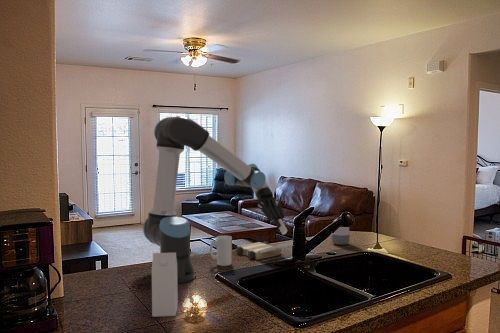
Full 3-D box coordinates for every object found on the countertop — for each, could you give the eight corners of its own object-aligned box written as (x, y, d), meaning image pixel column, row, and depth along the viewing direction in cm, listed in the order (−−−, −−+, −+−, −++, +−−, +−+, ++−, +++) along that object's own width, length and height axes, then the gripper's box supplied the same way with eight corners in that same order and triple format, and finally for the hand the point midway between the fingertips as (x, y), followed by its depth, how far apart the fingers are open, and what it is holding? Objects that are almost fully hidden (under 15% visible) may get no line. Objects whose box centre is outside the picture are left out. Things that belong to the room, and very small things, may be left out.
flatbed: (234, 252, 199) (234, 245, 199) (262, 247, 209) (262, 240, 209) (254, 260, 186) (254, 252, 186) (282, 254, 197) (282, 246, 196)
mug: (229, 261, 185) (228, 234, 184) (234, 265, 179) (233, 238, 178) (207, 263, 181) (207, 236, 181) (211, 267, 175) (211, 240, 174)
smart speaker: (328, 242, 220) (328, 216, 219) (344, 241, 222) (344, 216, 221) (336, 246, 211) (336, 220, 210) (352, 245, 213) (353, 219, 212)
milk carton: (155, 307, 132) (154, 250, 131) (177, 307, 133) (177, 249, 132) (152, 317, 125) (151, 256, 124) (175, 316, 126) (174, 255, 125)
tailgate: (257, 251, 187) (276, 244, 176) (280, 246, 195) (299, 240, 184) (258, 253, 187) (277, 247, 176) (280, 249, 195) (300, 242, 184)
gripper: (269, 195, 200) (291, 235, 188) (248, 197, 193) (269, 239, 180) (276, 185, 196) (299, 226, 183) (254, 187, 188) (277, 229, 176)
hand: (284, 232), depth 182 cm, fingers closed
